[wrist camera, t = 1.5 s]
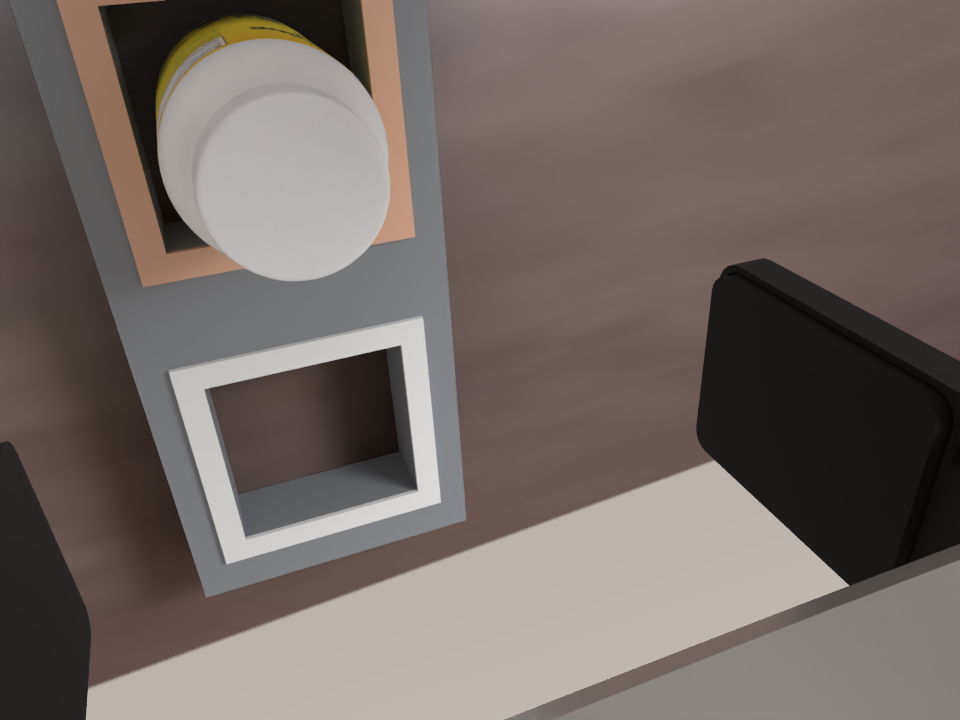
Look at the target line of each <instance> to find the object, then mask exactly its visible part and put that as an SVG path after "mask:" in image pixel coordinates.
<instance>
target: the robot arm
mask: <svg viewBox="0 0 960 720" xmlns="http://www.w3.org/2000/svg"><path fill="white" fill-rule="evenodd" d="M696 431H697V437H698V440H699V442H700V444H701V446H702V448H703V449H704V450H705V451H706V452H707V453H708V454H709V455H710V456H711V457H712V458H713V459H714V460H715V461H716V462H717V463H718V464H720V465H721V466H722V467H723V468H724V469H725V470H726V471H727V472H728V473H729V474H730V475H731V476H733V478H735V479H736V480H737V481H738V482H739V483H740V484H741V485H742V486H743V487H744V488H745V489H746V490H747V491H748V492H750V493H751V494H752V495H753V496H754V497H755V498H756V499H757V500H758V501H759V502H760V503H761V504H763V505H764V506H765V507H766V508H767V509H768V510H769V511H770V512H771V513H772V514H773V515H774V516H775V517H776V518H778V519H779V520H780V521H781V522H782V523H783V524H784V525H785V526H786V527H787V528H788V529H789V530H791V532H793V533H794V534H795V535H796V536H797V537H798V538H799V539H800V540H801V541H802V542H803V543H804V544H805V545H806V546H808V547H809V548H810V549H811V550H812V551H813V552H814V553H815V554H816V555H817V556H818V557H819V558H820V559H822V560H823V561H824V562H825V563H826V564H827V565H828V566H829V567H830V568H831V569H832V570H834V572H836V573H837V574H838V575H839V576H840V577H841V578H842V579H843V580H844V581H845V582H846V583H847V584H849V586H848V587H845V588H843V589H840V590H838V591H835V592H832V593H830V594H827V595H824V596H822V597H819V598H817V599H814V600H811V601H809V602H806V603H804V604H801V605H798V606H796V607H793V608H791V609H788V610H786V611H783V612H780V613H778V614H775V615H773V616H770V617H767V618H765V619H762V620H759V621H757V622H754V623H752V624H749V625H747V626H744V627H741V628H739V629H736V630H734V631H731V632H729V633H726V634H723V635H721V636H718V637H716V638H713V639H710V640H708V641H706V642H703V643H700V644H697V645H695V646H692V647H690V648H687V649H684V650H682V651H679V652H677V653H674V654H672V655H669V656H667V657H664V658H661V659H659V660H656V661H654V662H651V663H648V664H646V665H643V666H641V667H638V668H636V669H633V670H630V671H628V672H625V673H623V674H620V675H618V676H615V677H612V678H610V679H607V680H605V681H602V682H600V683H597V684H595V685H592V686H589V687H587V688H584V689H582V690H579V691H576V692H574V693H572V694H569V695H566V696H564V697H561V698H559V699H556V700H553V701H551V702H548V703H546V704H543V705H541V706H538V707H536V708H533V709H531V710H528V711H525V712H523V713H520V714H518V715H515V716H513V717H510V718H508V719H505V720H960V361H958V360H956V359H954V358H952V357H951V356H949V355H947V354H945V353H943V352H941V351H939V350H937V349H936V348H934V347H932V346H930V345H928V344H926V343H924V342H922V341H921V340H919V339H917V338H915V337H913V336H911V335H909V334H907V333H906V332H904V331H902V330H900V329H898V328H896V327H894V326H893V325H891V324H889V323H887V322H885V321H883V320H881V319H879V318H878V317H876V316H874V315H872V314H870V313H868V312H866V311H864V310H863V309H861V308H859V307H857V306H855V305H853V304H851V303H849V302H848V301H846V300H844V299H842V298H840V297H838V296H836V295H834V294H833V293H831V292H829V291H827V290H825V289H823V288H821V287H819V286H818V285H816V284H814V283H812V282H810V281H808V280H806V279H804V278H803V277H801V276H799V275H797V274H795V273H793V272H791V271H790V270H788V269H786V268H784V267H782V266H780V265H778V264H776V263H775V262H773V261H771V260H768V259H765V258H763V259H757V260H753V261H748V262H744V263H739V264H735V265H731V266H728V267H727V268H725V269H724V270H723V272H722V274H721V276H720V278H719V279H717V280H716V281H715V283H714V285H713V289H712V295H711V304H710V313H709V321H708V330H707V339H706V348H705V356H704V365H703V374H702V382H701V391H700V400H699V408H698V417H697V426H696ZM90 645H91V629H90V622H89V617H88V613H87V610H86V607H85V604H84V602H83V600H82V598H81V595H80V593H79V591H78V589H77V586H76V584H75V582H74V580H73V577H72V575H71V573H70V571H69V568H68V566H67V564H66V562H65V559H64V557H63V555H62V553H61V551H60V548H59V546H58V544H57V542H56V539H55V537H54V535H53V533H52V530H51V528H50V526H49V524H48V521H47V519H46V517H45V515H44V512H43V510H42V508H41V506H40V503H39V501H38V499H37V497H36V494H35V492H34V490H33V488H32V485H31V483H30V481H29V479H28V477H27V474H26V472H25V470H24V468H23V465H22V463H21V461H20V459H19V456H18V454H17V452H16V450H15V448H14V447H13V445H12V444H11V443H10V442H8V441H6V442H2V443H0V720H86V707H87V692H88V676H89V661H90Z"/></svg>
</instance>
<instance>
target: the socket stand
mask: <svg viewBox="0 0 960 720" xmlns="http://www.w3.org/2000/svg"><path fill="white" fill-rule="evenodd" d="M151 1H163V0H9V3H10V6H11V9H12V12H13V15H14V18H15V21H16V24H17V27H18V30H19V33H20V36H21V39H22V42H23V45H24V48H25V51H26V54H27V57H28V60H29V63H30V66H31V69H32V72H33V75H34V78H35V81H36V84H37V87H38V90H39V93H40V96H41V99H42V102H43V105H44V108H45V111H46V115H47V118H48V121H49V124H50V127H51V130H52V133H53V136H54V139H55V142H56V145H57V148H58V151H59V154H60V157H61V160H62V163H63V166H64V169H65V172H66V175H67V178H68V181H69V184H70V187H71V190H72V193H73V196H74V199H75V202H76V205H77V208H78V211H79V214H80V217H81V220H82V223H83V226H84V229H85V232H86V235H87V238H88V241H89V245H90V248H91V251H92V254H93V257H94V260H95V263H96V266H97V269H98V272H99V275H100V278H101V281H102V284H103V287H104V290H105V293H106V296H107V299H108V302H109V305H110V308H111V311H112V314H113V317H114V320H115V323H116V326H117V329H118V332H119V335H120V338H121V341H122V344H123V347H124V350H125V353H126V356H127V359H128V362H129V365H130V368H131V371H132V374H133V378H134V381H135V384H136V387H137V390H138V393H139V396H140V399H141V402H142V405H143V408H144V411H145V414H146V417H147V420H148V423H149V426H150V429H151V432H152V435H153V438H154V441H155V444H156V447H157V450H158V453H159V456H160V459H161V462H162V465H163V468H164V471H165V474H166V477H167V480H168V483H169V486H170V489H171V492H172V495H173V498H174V501H175V504H176V508H177V511H178V514H179V517H180V520H181V523H182V526H183V529H184V532H185V535H186V538H187V541H188V544H189V547H190V550H191V553H192V556H193V559H194V562H195V565H196V568H197V571H198V574H199V577H200V580H201V583H202V586H203V589H204V592H205V595H206V598H207V597H210V596H214V595H217V594H220V593H224V592H227V591H230V590H234V589H237V588H240V587H244V586H247V585H250V584H254V583H257V582H260V581H264V580H267V579H271V578H274V577H277V576H281V575H284V574H287V573H291V572H294V571H297V570H301V569H304V568H307V567H311V566H314V565H317V564H321V563H324V562H328V561H331V560H334V559H338V558H341V557H344V556H348V555H351V554H354V553H358V552H361V551H364V550H368V549H371V548H374V547H378V546H381V545H384V544H388V543H391V542H395V541H398V540H401V539H405V538H408V537H411V536H415V535H418V534H421V533H425V532H428V531H431V530H435V529H438V528H441V527H445V526H448V525H451V524H455V523H458V522H462V521H465V520H466V511H465V497H464V484H463V471H462V458H461V445H460V432H459V419H458V405H457V392H456V379H455V366H454V353H453V340H452V326H451V313H450V300H449V287H448V274H447V261H446V248H445V234H444V221H443V208H442V195H441V182H440V169H439V155H438V142H437V129H436V116H435V103H434V90H433V77H432V63H431V50H430V37H429V24H428V11H427V0H341V2H342V10H343V18H344V25H345V33H346V41H347V49H348V57H349V64H350V71H351V72H352V73H353V74H354V75H355V77H357V78H358V79H359V81H360V82H361V84H362V85H363V86H364V88H365V89H366V91H367V92H368V93H369V95H370V97H371V98H372V100H373V102H374V104H375V106H376V107H377V109H378V112H379V114H380V116H381V119H382V122H383V125H384V128H385V132H386V137H387V142H388V152H389V161H388V170H389V176H390V201H389V206H388V210H387V214H386V218H385V220H384V223H383V225H382V228H381V230H380V231H379V233H378V235H377V237H376V238H375V239H374V241H373V242H372V244H371V245H370V246H369V247H368V249H367V250H366V251H365V252H364V253H363V254H362V255H361V256H360V257H359V258H357V259H356V260H355V261H354V262H352V263H351V264H349V265H348V266H346V267H345V268H343V269H341V270H339V271H337V272H335V273H333V274H331V275H328V276H325V277H322V278H318V279H313V280H307V281H281V280H275V279H270V278H267V277H263V276H260V275H257V274H255V273H253V272H251V271H249V270H247V269H245V268H243V267H241V266H240V265H238V264H237V263H235V262H234V261H233V260H231V259H230V258H229V257H228V256H226V255H225V254H223V253H221V252H220V251H218V250H216V249H214V248H213V247H211V246H210V245H209V244H207V243H206V242H204V241H203V240H202V239H201V238H200V237H199V236H198V235H196V234H195V233H194V232H193V231H192V230H191V229H190V227H189V226H188V225H187V224H186V223H185V222H184V221H183V220H182V221H176V222H170V223H164V221H163V217H162V213H161V210H160V206H159V202H158V199H157V195H156V191H155V188H154V184H153V181H152V177H151V173H150V170H149V166H148V162H147V159H146V155H145V151H144V148H143V144H142V140H141V137H140V133H139V129H138V126H137V122H136V118H135V115H134V111H133V107H132V104H131V100H130V96H129V93H128V89H127V85H126V82H125V78H124V74H123V71H122V67H121V63H120V60H119V56H118V52H117V49H116V45H115V41H114V38H113V34H112V30H111V27H110V23H109V19H108V16H107V12H106V8H105V5H116V4H128V3H140V2H151ZM382 349H386V353H387V361H388V369H389V377H390V385H391V392H392V400H393V408H394V416H395V424H396V431H397V439H398V447H399V452H395V453H391V454H388V455H384V456H380V457H376V458H373V459H369V460H365V461H361V462H357V463H354V464H350V465H346V466H342V467H339V468H335V469H331V470H327V471H323V472H320V473H316V474H312V475H308V476H305V477H301V478H297V479H293V480H289V481H286V482H282V483H278V484H274V485H271V486H267V487H263V488H259V489H255V490H252V491H248V492H244V493H240V494H238V492H237V488H236V484H235V481H234V477H233V473H232V470H231V466H230V462H229V459H228V455H227V451H226V448H225V444H224V440H223V437H222V433H221V429H220V426H219V422H218V418H217V415H216V411H215V407H214V404H213V400H212V397H211V393H210V389H209V388H212V387H217V386H221V385H226V384H230V383H235V382H239V381H244V380H248V379H253V378H257V377H261V376H266V375H270V374H275V373H279V372H284V371H288V370H293V369H297V368H302V367H306V366H310V365H315V364H319V363H324V362H328V361H333V360H337V359H342V358H346V357H351V356H355V355H359V354H364V353H368V352H373V351H377V350H382Z"/></svg>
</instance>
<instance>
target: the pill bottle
mask: <svg viewBox="0 0 960 720" xmlns="http://www.w3.org/2000/svg"><path fill="white" fill-rule="evenodd" d="M155 107H156V129H157V151H158V162H159V167H160V172H161V176H162V180H163V183H164V186H165V189H166V191H167V194H168V196H169V198H170V200H171V202H172V204H173V206H174V208H175V209H176V211H177V212H178V214H179V215H180V216H181V218H182V219H183V221H184V222H185V223H186V224H187V225H188V226H189V227H190V229H191V230H192V231H193V232H194V233H195V234H196V235H198V236H199V237H200V238H201V239H202V240H203V241H204V242H206V243H207V244H209V245H210V246H211V247H213V248H214V249H216V250H218V251H220V252H221V253H223V254H225V255H226V256H228V257H229V258H230V259H231V260H233V261H234V262H235V263H237V264H238V265H240V266H241V267H243V268H245V269H247V270H249V271H251V272H253V273H255V274H257V275H260V276H263V277H267V278H270V279H275V280H281V281H307V280H313V279H318V278H322V277H325V276H328V275H331V274H333V273H335V272H337V271H339V270H341V269H343V268H345V267H346V266H348V265H349V264H351V263H352V262H354V261H355V260H356V259H357V258H359V257H360V256H361V255H362V254H363V253H364V252H365V251H366V250H367V249H368V247H369V246H370V245H371V244H372V242H373V241H374V239H375V238H376V237H377V235H378V233H379V231H380V230H381V228H382V225H383V223H384V220H385V218H386V214H387V210H388V206H389V201H390V176H389V170H388V161H389V152H388V142H387V137H386V132H385V128H384V125H383V122H382V119H381V116H380V114H379V112H378V109H377V107H376V106H375V104H374V102H373V100H372V98H371V97H370V95H369V93H368V92H367V91H366V89H365V88H364V86H363V85H362V84H361V82H360V81H359V79H358V78H357V77H355V75H354V74H353V73H352V72H351V71H349V70H348V69H347V68H346V67H345V66H344V65H342V64H341V63H340V62H338V61H337V60H336V59H334V58H333V57H332V56H330V55H329V54H327V53H326V52H324V51H323V50H322V49H321V48H319V47H317V46H316V45H315V44H314V43H312V42H311V41H309V40H308V39H307V38H305V37H304V36H303V35H301V34H300V33H298V32H297V31H295V30H294V29H292V28H290V27H289V26H287V25H285V24H283V23H281V22H279V21H276V20H274V19H271V18H268V17H264V16H260V15H255V14H244V13H236V14H226V15H221V16H216V17H213V18H210V19H208V20H206V21H203V22H201V23H200V24H198V25H196V26H195V27H193V28H192V29H190V30H189V31H187V32H186V33H185V34H184V35H183V36H182V37H180V38H179V39H178V41H177V42H176V43H175V44H174V45H173V46H172V48H171V50H170V51H169V53H168V54H167V56H166V58H165V60H164V62H163V64H162V67H161V70H160V73H159V76H158V80H157V86H156V96H155Z"/></svg>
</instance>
